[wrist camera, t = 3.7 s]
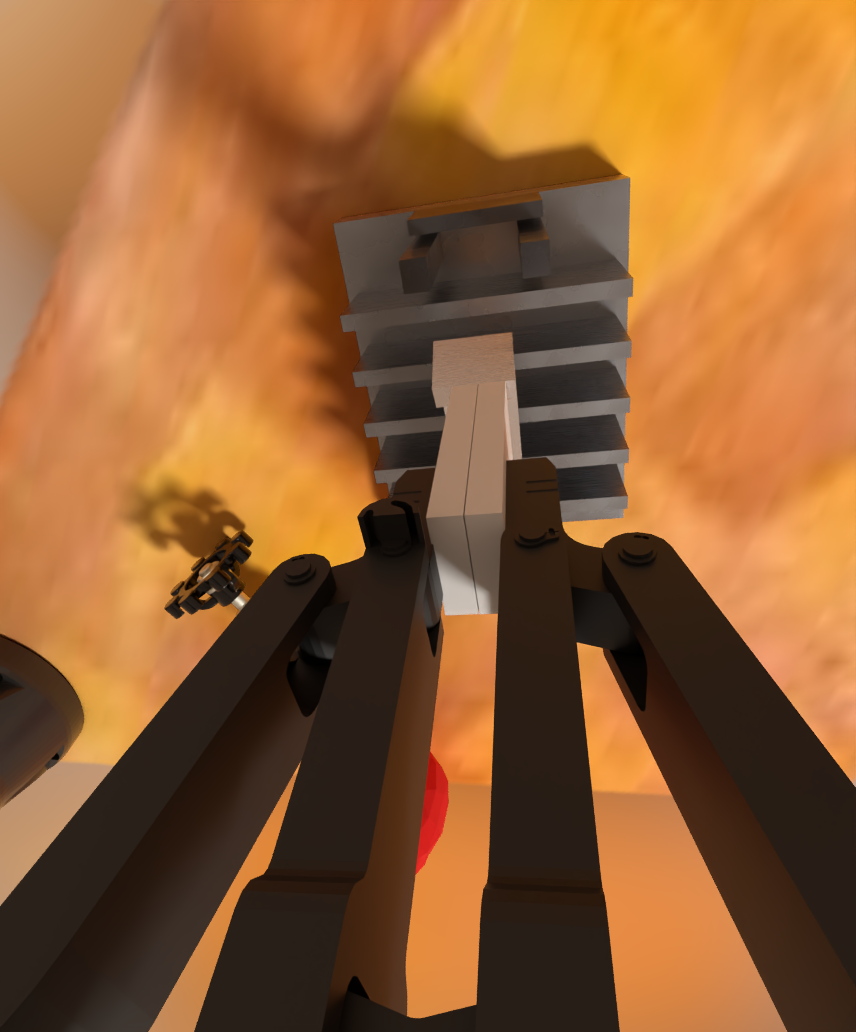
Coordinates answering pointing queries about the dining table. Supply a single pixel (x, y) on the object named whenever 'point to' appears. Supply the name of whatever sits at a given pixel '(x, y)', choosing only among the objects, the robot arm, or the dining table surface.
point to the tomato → (432, 810)
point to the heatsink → (501, 324)
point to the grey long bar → (477, 372)
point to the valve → (214, 579)
